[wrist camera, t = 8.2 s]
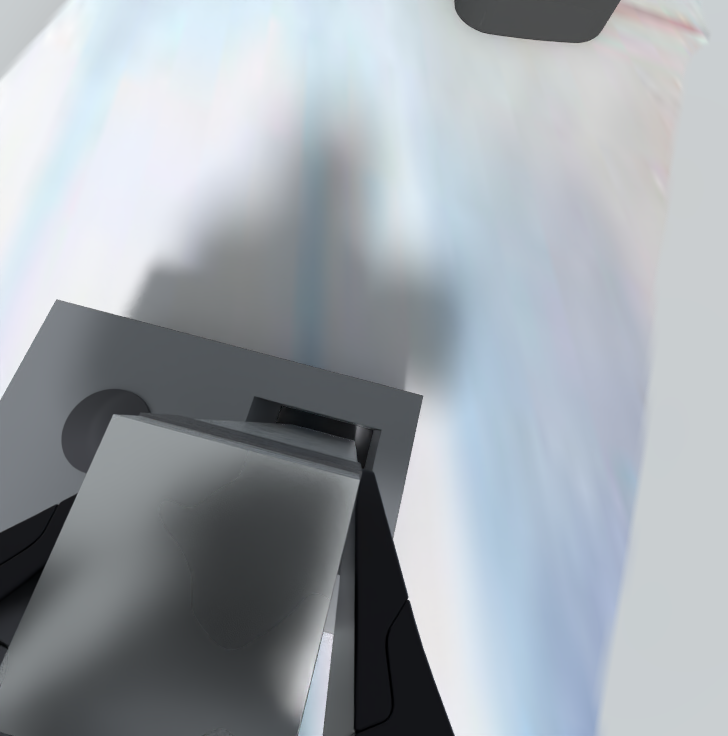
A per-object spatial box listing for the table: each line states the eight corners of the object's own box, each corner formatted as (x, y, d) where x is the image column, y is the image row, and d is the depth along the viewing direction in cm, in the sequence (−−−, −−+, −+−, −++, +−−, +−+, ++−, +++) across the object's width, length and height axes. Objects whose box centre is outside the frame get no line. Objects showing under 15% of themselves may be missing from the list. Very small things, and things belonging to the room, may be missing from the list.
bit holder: (364, 577, 16) (370, 647, 11) (60, 494, 16) (-73, 524, 11) (403, 404, 18) (424, 395, 13) (136, 334, 18) (53, 297, 13)
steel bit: (337, 510, 16) (281, 818, 3) (269, 492, 16) (-32, 727, 4) (355, 440, 17) (364, 477, 4) (291, 423, 17) (111, 410, 4)
